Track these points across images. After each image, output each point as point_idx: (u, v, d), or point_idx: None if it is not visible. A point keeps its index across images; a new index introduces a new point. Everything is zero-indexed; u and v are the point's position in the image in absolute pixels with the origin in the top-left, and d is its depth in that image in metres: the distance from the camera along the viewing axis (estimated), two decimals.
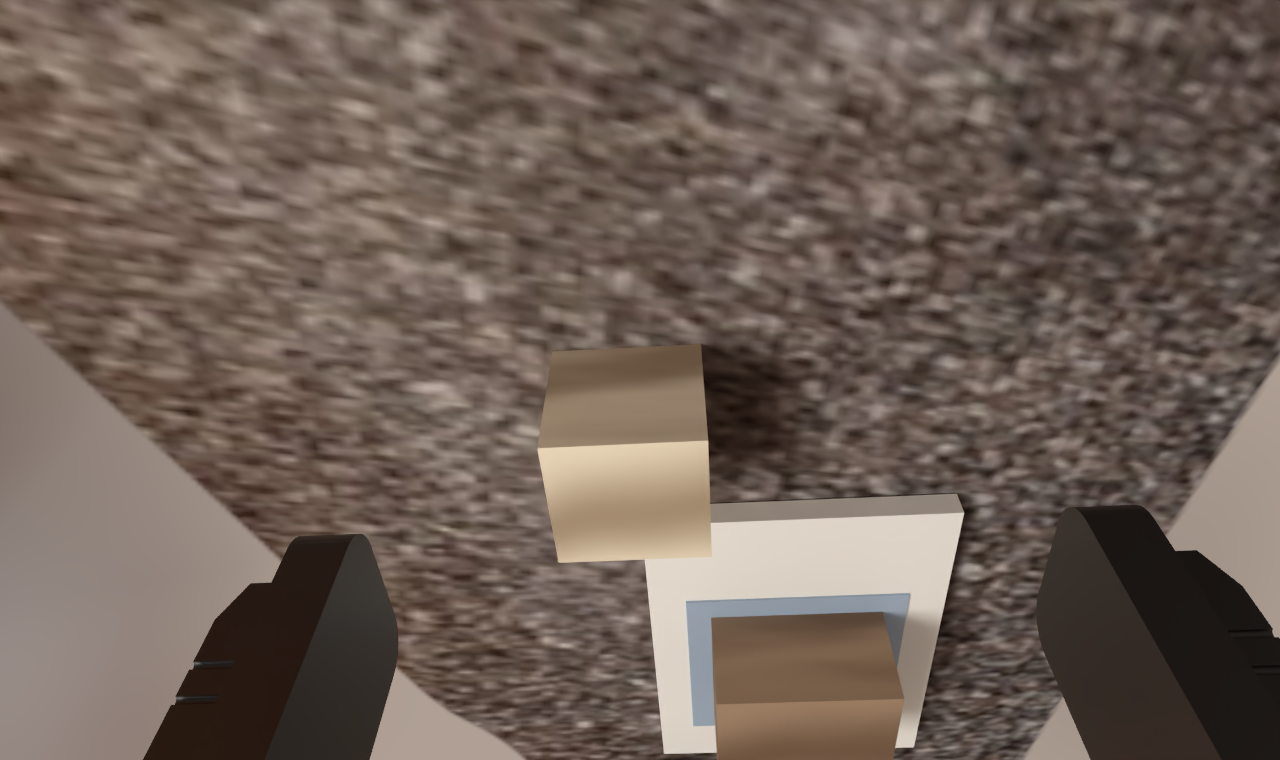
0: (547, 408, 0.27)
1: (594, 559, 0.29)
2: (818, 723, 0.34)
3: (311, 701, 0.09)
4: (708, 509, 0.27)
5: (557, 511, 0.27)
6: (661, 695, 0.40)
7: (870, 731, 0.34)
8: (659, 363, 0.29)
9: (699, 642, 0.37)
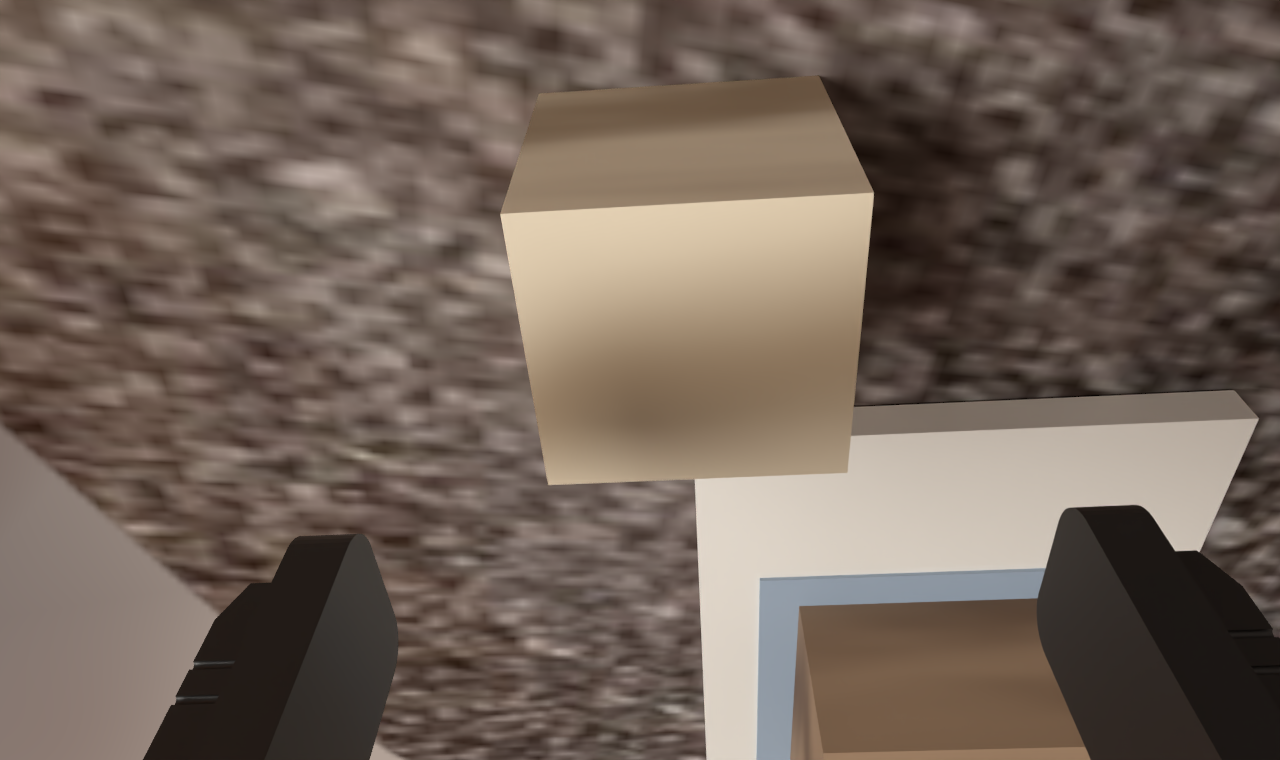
0: (525, 159, 0.13)
1: (618, 479, 0.15)
2: None
3: (312, 701, 0.09)
4: (853, 366, 0.13)
5: (544, 371, 0.13)
6: (710, 731, 0.26)
7: None
8: (744, 99, 0.15)
9: (776, 647, 0.23)
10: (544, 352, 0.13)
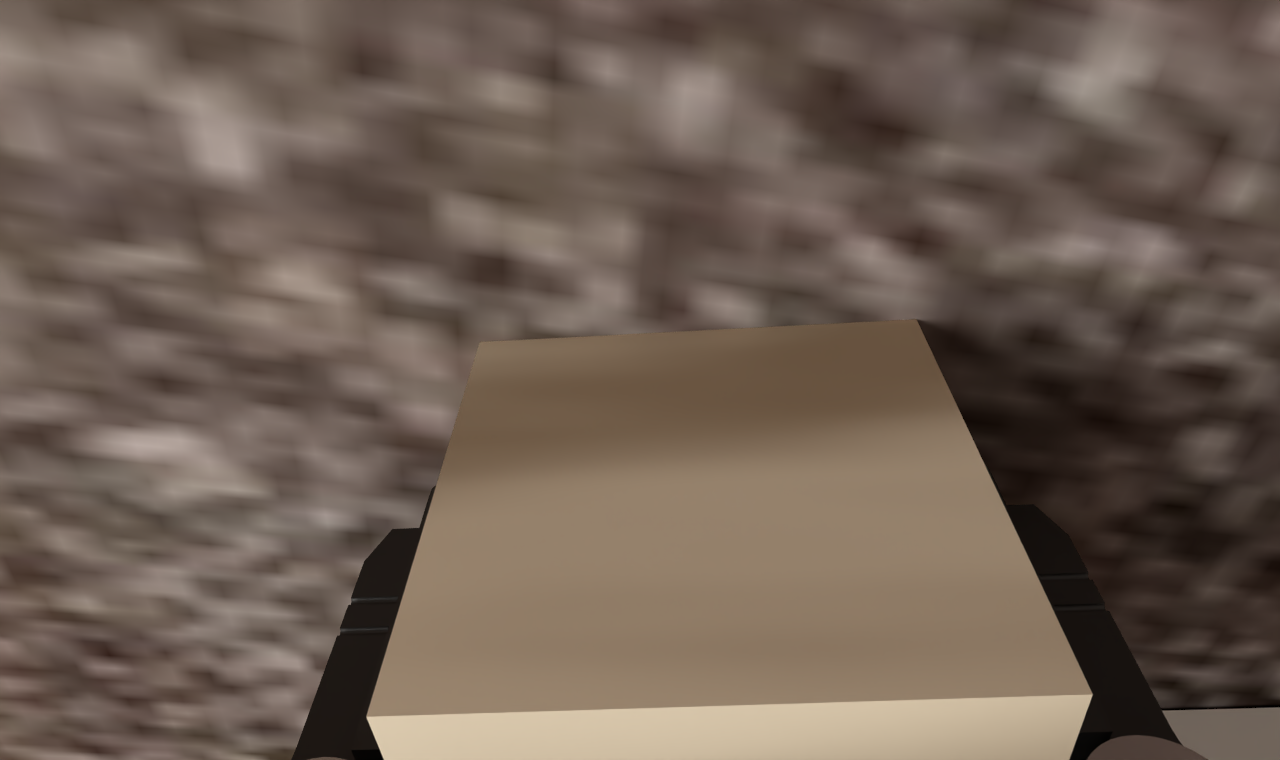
0: (436, 529, 0.08)
1: None
2: None
3: None
4: None
5: None
6: None
7: None
8: (804, 375, 0.09)
9: None
10: None
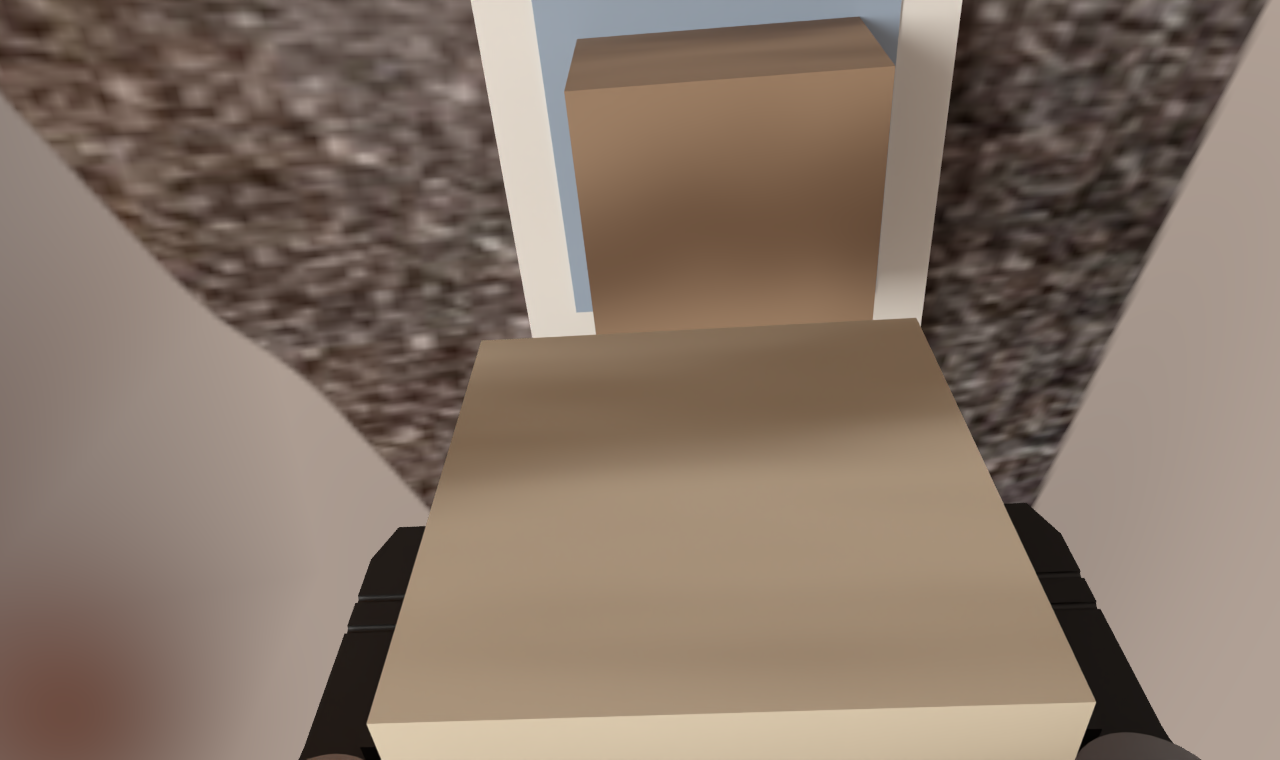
0: (436, 534, 0.08)
1: None
2: (747, 146, 0.20)
3: None
4: None
5: None
6: (520, 244, 0.26)
7: (839, 165, 0.20)
8: (806, 378, 0.09)
9: (564, 105, 0.23)
10: None
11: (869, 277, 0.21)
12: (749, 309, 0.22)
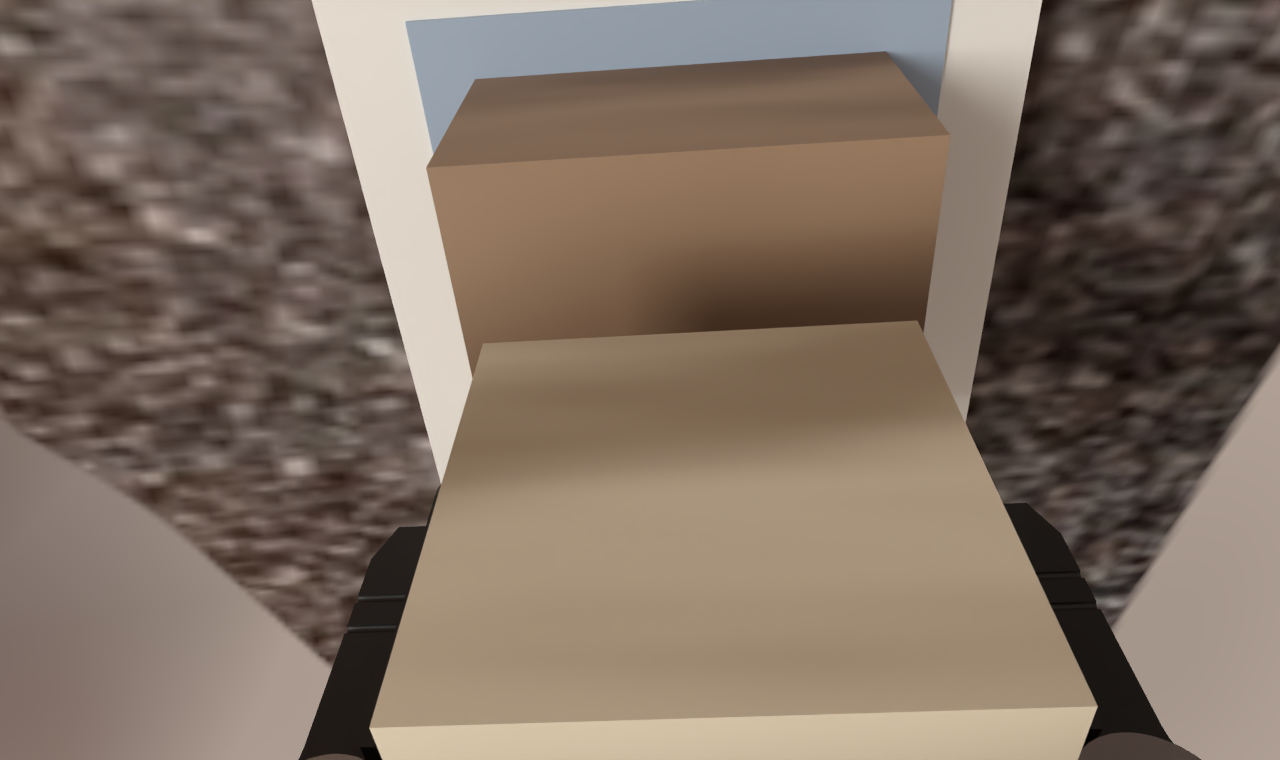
0: (438, 538, 0.08)
1: None
2: (716, 251, 0.13)
3: None
4: None
5: None
6: (413, 353, 0.19)
7: (857, 280, 0.13)
8: (807, 381, 0.09)
9: None
10: None
11: None
12: None
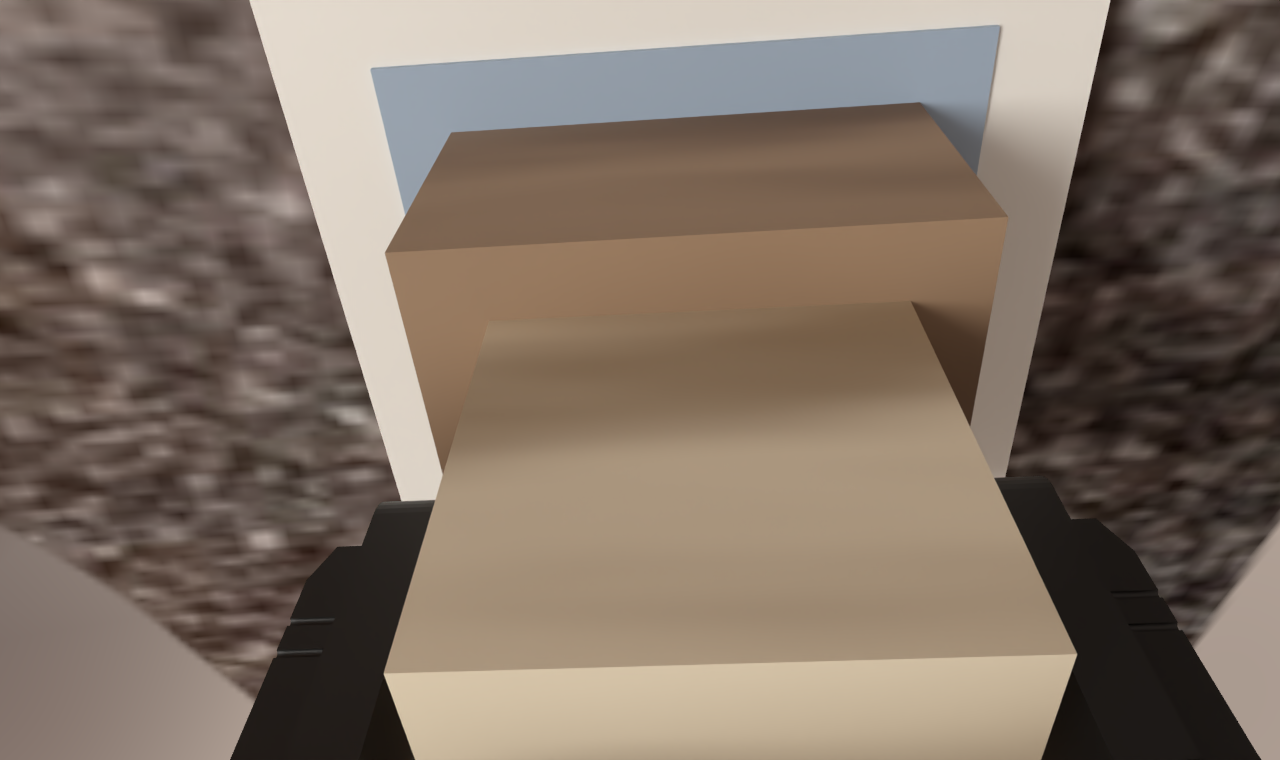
0: (447, 501, 0.08)
1: None
2: None
3: None
4: None
5: None
6: (387, 427, 0.17)
7: None
8: (803, 357, 0.10)
9: None
10: None
11: None
12: None
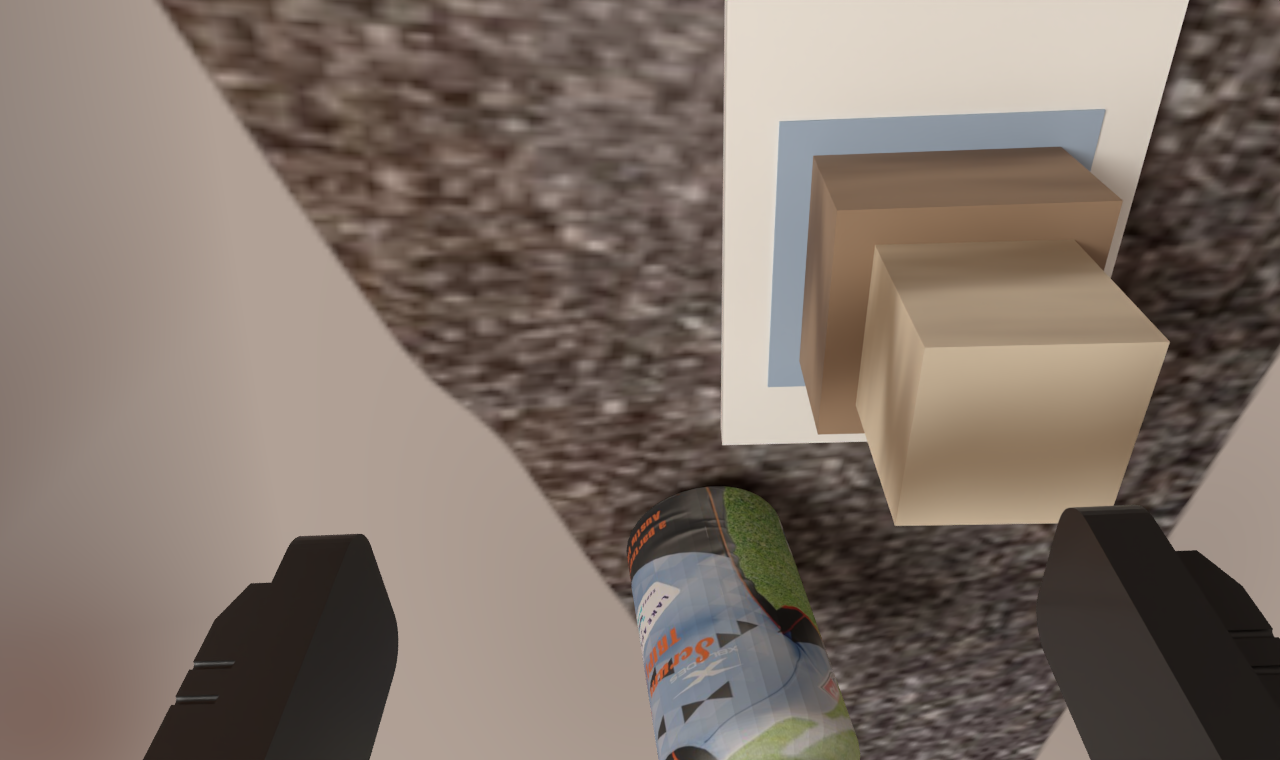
0: (909, 304, 0.20)
1: (943, 523, 0.21)
2: None
3: (311, 702, 0.09)
4: (1130, 450, 0.20)
5: (919, 447, 0.20)
6: (728, 326, 0.29)
7: None
8: (1033, 259, 0.21)
9: (791, 209, 0.26)
10: (923, 435, 0.20)
11: None
12: None
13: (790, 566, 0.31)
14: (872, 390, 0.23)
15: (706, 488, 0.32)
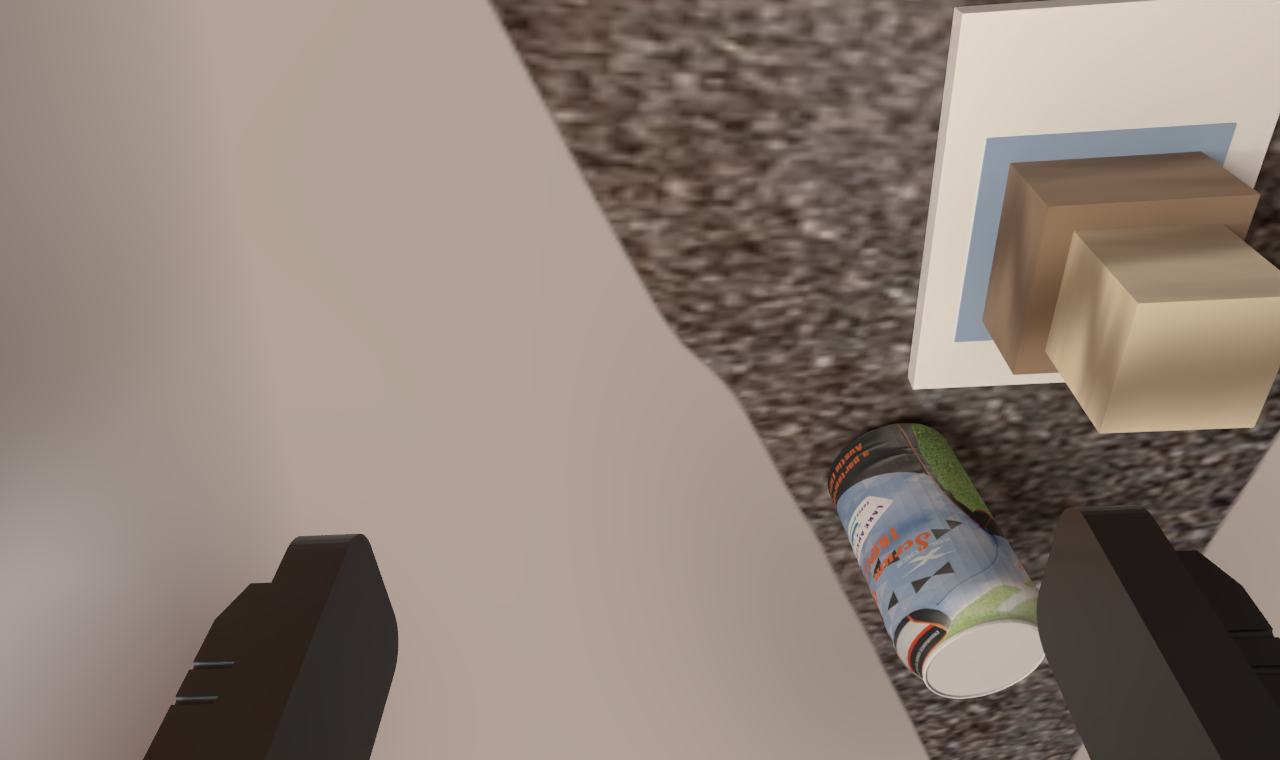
0: (1116, 273, 0.28)
1: (1134, 430, 0.29)
2: None
3: (311, 703, 0.09)
4: (1275, 373, 0.28)
5: (1125, 375, 0.28)
6: (928, 294, 0.37)
7: None
8: (1196, 239, 0.30)
9: (989, 204, 0.34)
10: (1128, 366, 0.28)
11: None
12: None
13: (971, 482, 0.39)
14: (1069, 338, 0.31)
15: (897, 424, 0.40)
